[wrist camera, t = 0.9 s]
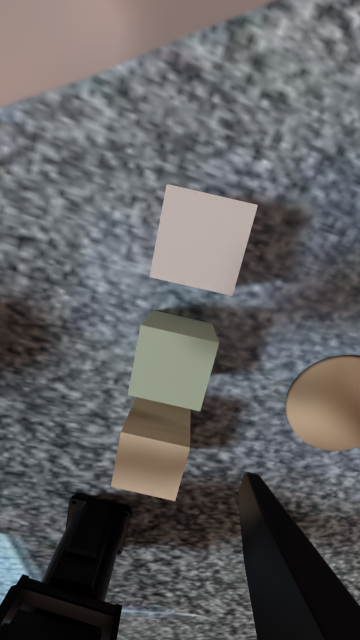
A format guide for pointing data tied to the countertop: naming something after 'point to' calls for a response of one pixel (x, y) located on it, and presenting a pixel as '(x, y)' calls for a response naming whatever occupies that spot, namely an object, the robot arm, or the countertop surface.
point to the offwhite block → (201, 239)
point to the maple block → (153, 449)
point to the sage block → (173, 360)
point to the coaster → (327, 404)
